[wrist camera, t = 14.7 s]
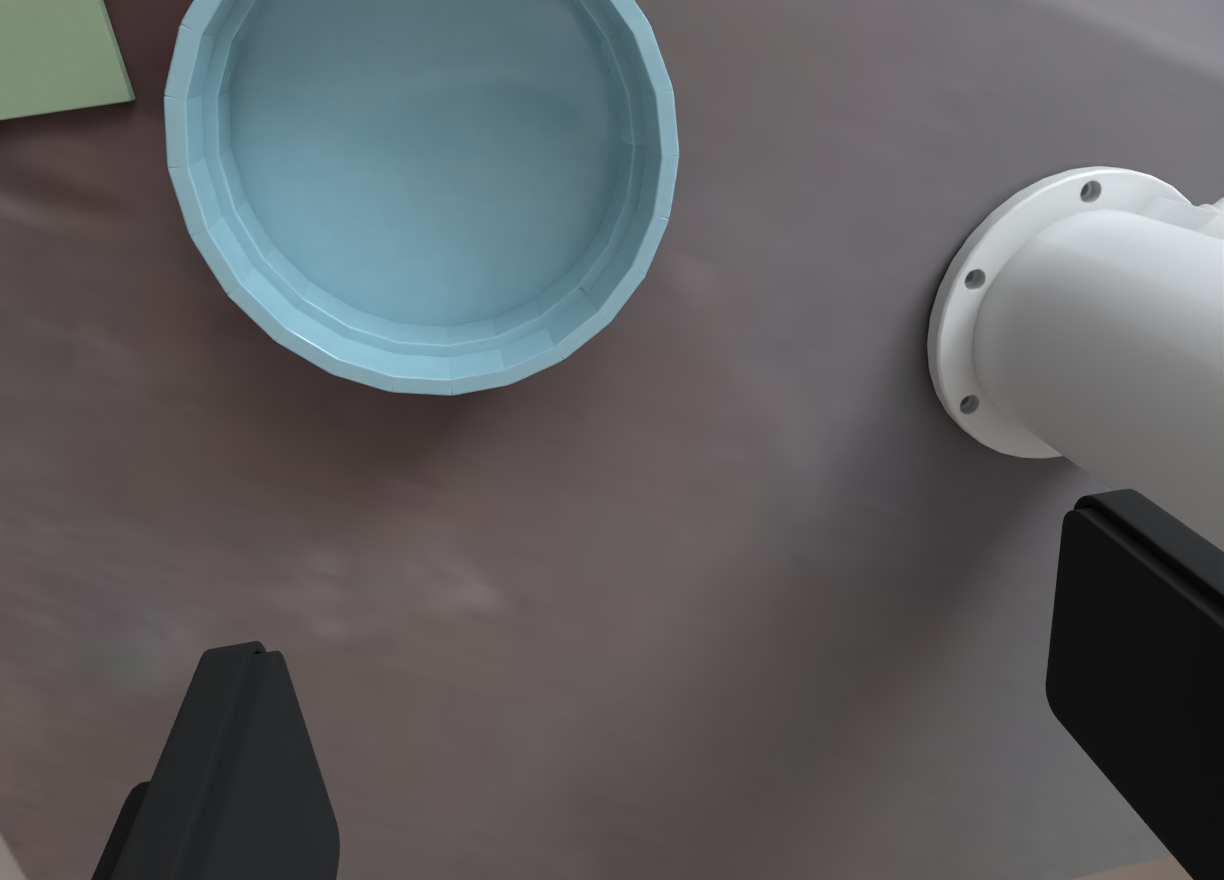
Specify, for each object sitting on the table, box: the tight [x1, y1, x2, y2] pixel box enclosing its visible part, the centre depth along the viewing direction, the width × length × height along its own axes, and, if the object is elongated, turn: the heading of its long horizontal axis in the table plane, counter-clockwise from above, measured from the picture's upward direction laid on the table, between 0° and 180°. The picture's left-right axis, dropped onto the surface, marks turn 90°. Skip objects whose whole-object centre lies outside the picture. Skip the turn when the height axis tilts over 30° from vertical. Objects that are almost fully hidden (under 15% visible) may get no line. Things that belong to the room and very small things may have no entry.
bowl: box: [164, 0, 679, 396], centre depth 31 cm, size 15×15×5 cm
